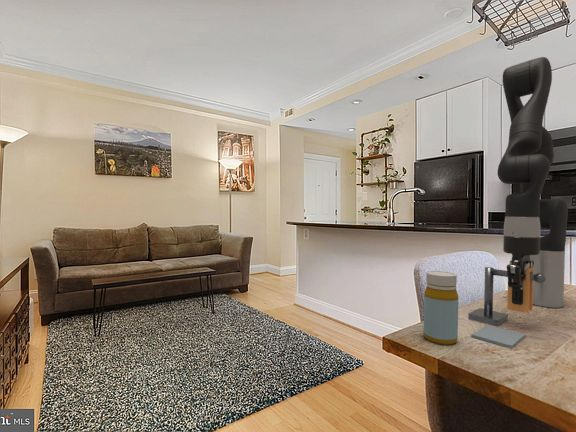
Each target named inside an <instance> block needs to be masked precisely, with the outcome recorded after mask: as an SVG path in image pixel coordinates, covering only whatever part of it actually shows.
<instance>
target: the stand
mask: <svg viewBox="0 0 576 432" xmlns="http://www.w3.org/2000/svg"><path fill="white" fill-rule="evenodd" d="M494 276H498V277H505V278H508V275H507V270H504V269H498V268H496V269H495V268H494V267H492V266H491V267H490V266H485V267H484V289H483V290H484V292H483V293H484V294H483V295H484V296H483V298H484V299H483V308H482V307H479V308H477V309H475V310H472V311H471V312H469V313H468V316H467V317H468V320H471V321H475V322H479V323H483V324H487V325H489V326H493V327H499V326H501V325H502V324H504V323H505V322H506V321H508V320H509V314H508V313H504V312H499V311H495V310H494V307H493V306H494ZM530 280H532V281H536V282H537V283H544V282H545V281H546V277H545V275H543V274H541V273H537V274H530Z"/></svg>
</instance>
